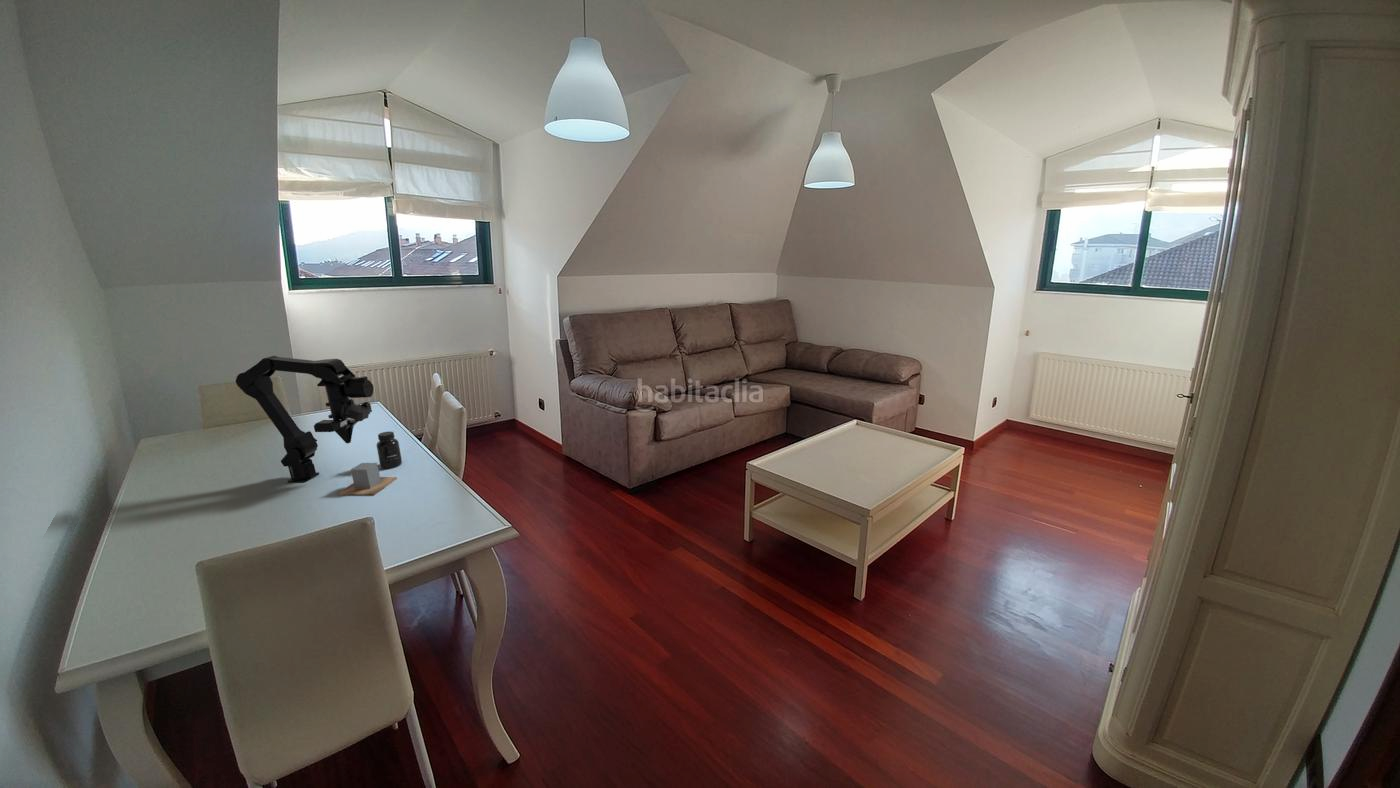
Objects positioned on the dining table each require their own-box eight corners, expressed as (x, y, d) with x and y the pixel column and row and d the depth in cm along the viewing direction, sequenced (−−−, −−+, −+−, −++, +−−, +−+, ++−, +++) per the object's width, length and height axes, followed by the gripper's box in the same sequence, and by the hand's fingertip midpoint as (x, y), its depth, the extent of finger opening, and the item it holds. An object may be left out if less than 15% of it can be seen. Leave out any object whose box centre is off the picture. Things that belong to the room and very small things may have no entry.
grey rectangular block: (354, 488, 172) (350, 469, 170) (365, 481, 176) (361, 462, 175) (370, 488, 171) (366, 469, 169) (380, 481, 176) (376, 462, 174)
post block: (337, 495, 169) (333, 478, 167) (363, 478, 180) (359, 463, 179) (374, 495, 168) (370, 479, 166) (397, 478, 179) (394, 463, 178)
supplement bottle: (392, 469, 187) (386, 437, 183) (376, 468, 188) (369, 436, 185) (407, 462, 193) (401, 430, 190) (390, 460, 194) (384, 429, 191)
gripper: (341, 406, 165) (352, 453, 169) (380, 390, 183) (388, 433, 187) (307, 407, 166) (318, 453, 170) (349, 390, 184) (358, 433, 188)
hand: (348, 443), depth 179 cm, fingers closed
